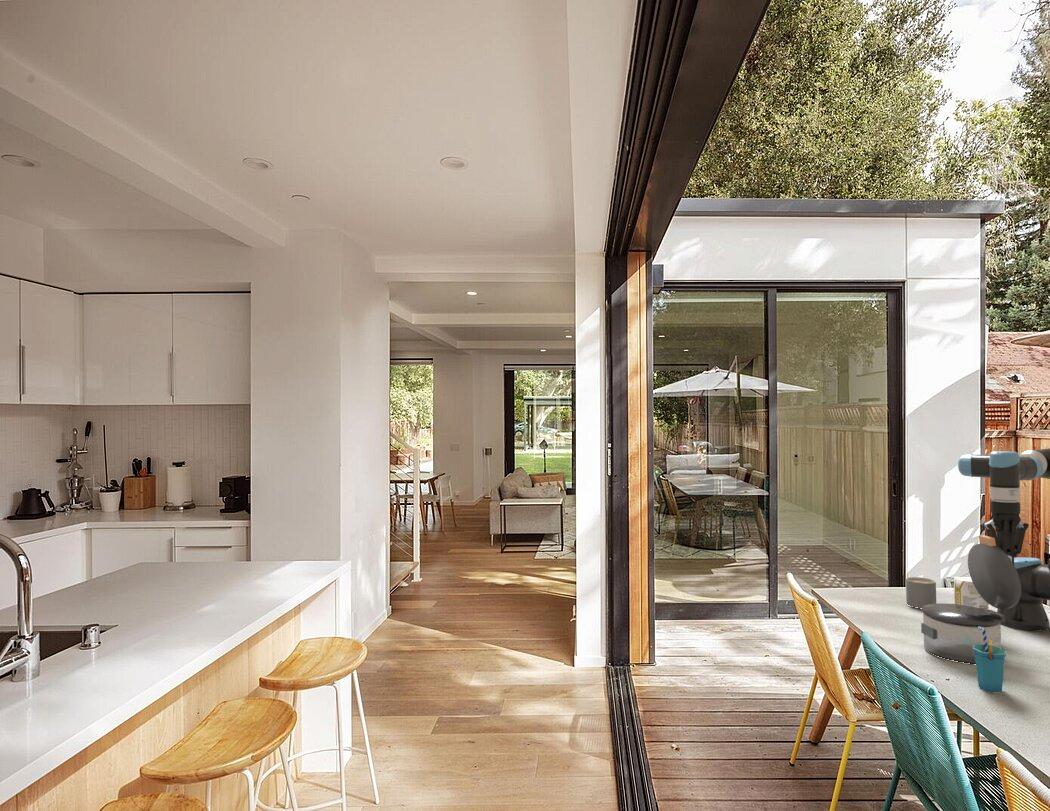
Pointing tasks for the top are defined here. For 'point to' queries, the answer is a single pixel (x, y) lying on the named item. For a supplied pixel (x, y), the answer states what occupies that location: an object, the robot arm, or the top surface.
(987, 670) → the cup
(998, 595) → the cooker lid
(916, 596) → the coffee mug
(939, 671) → the top surface
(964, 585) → the juice carton
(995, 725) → the top surface
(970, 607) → the cooker
